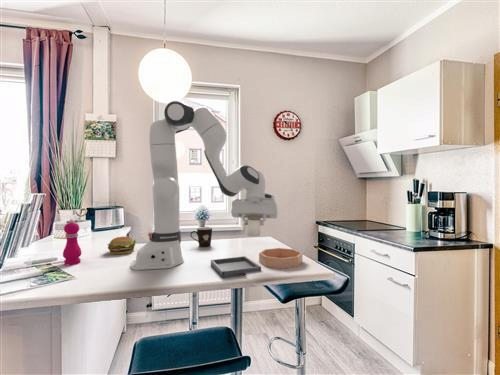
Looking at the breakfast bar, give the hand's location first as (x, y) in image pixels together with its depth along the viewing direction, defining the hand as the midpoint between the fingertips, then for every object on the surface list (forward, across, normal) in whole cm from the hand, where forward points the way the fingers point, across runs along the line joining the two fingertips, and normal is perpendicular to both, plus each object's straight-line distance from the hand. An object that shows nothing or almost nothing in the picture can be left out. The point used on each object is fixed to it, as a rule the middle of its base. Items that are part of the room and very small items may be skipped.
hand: (253, 224), depth 124 cm
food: (-3, -70, +32) cm, 77 cm away
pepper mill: (+12, -82, +17) cm, 85 cm away
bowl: (+9, +12, +16) cm, 22 cm away
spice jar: (+3, 0, +4) cm, 5 cm away
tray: (+15, -7, +11) cm, 20 cm away
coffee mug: (-15, -31, +42) cm, 54 cm away
